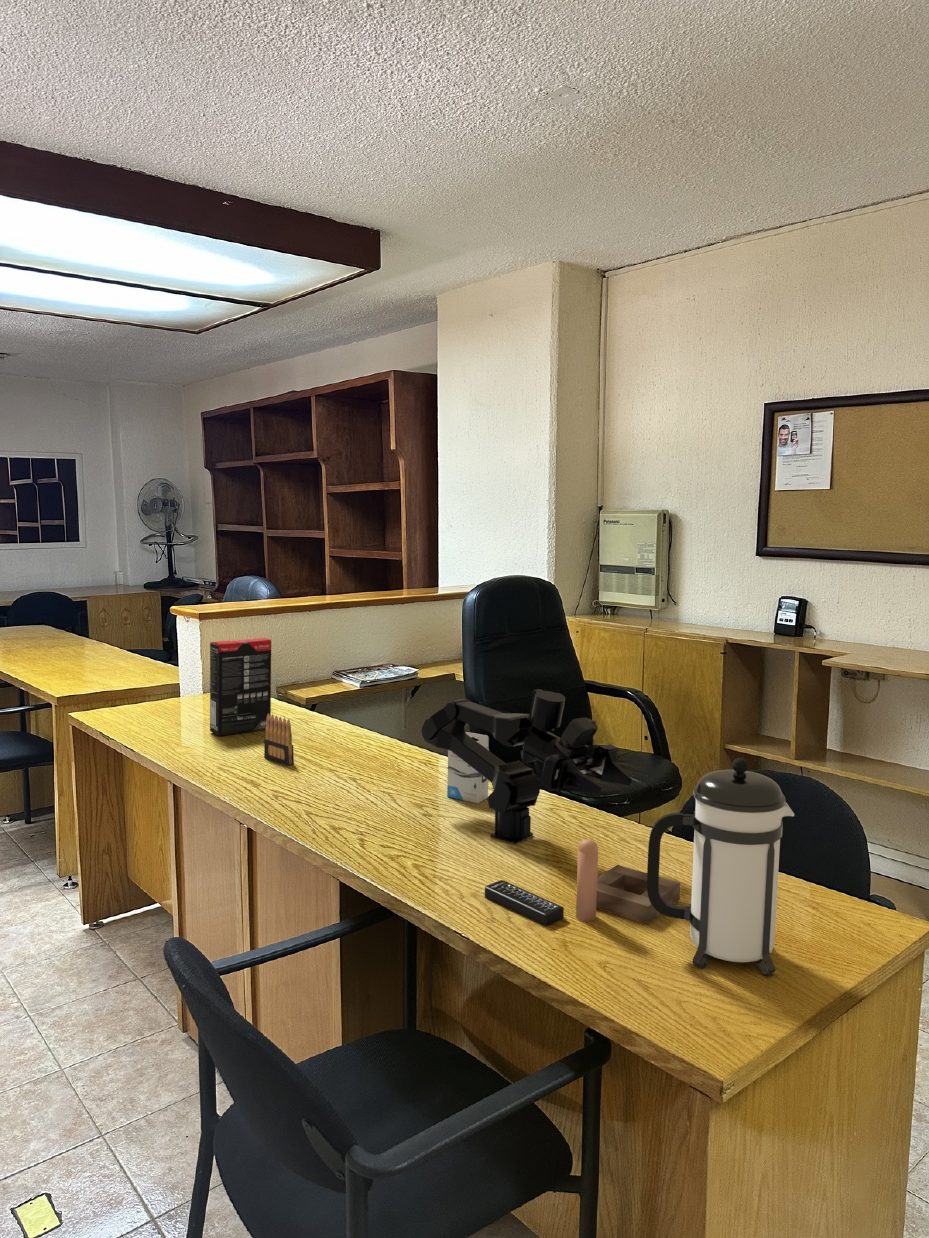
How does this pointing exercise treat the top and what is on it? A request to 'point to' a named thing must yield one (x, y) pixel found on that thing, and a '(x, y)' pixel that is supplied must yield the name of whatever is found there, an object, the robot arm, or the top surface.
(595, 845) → the terracotta dowel
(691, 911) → the coffee press
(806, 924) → the top surface
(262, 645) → the graphics card box
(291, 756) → the ammunition clip
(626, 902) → the brown square frame
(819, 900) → the top surface
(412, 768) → the top surface
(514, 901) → the multiport hub
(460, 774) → the ink box
